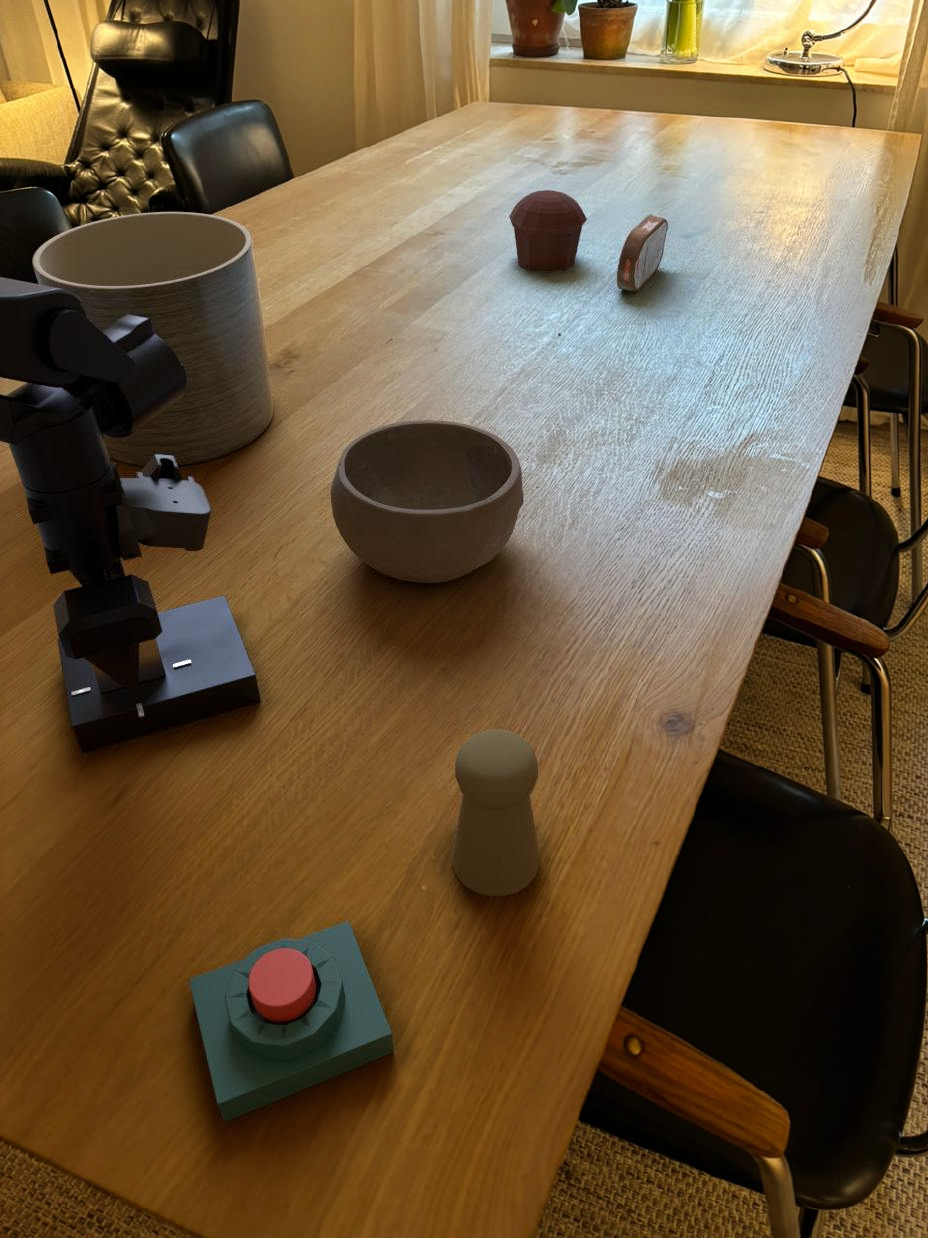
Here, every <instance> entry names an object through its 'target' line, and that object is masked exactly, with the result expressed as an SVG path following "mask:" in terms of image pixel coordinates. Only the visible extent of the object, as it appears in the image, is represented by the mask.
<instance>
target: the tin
mask: <svg viewBox="0 0 928 1238" xmlns="http://www.w3.org/2000/svg"><path fill="white" fill-rule="evenodd" d="M668 229H669V222H668V220H667V219H666V218H665V217H661V216H656V215H653V214H648V215H646V216H645V218H643V219H641V221H640V222H639V223H638V224H637V225H635V226H634V227H633V228H632V229H631V230H630V231H629V232H628V235H627V236H626V239H625V240H624V243H623V245H622V249H621V252H620V256H619V259H618V264H617V270H616V286H617V288H618V289H619V290H626V291H629V292H638V291H639V290H640V289H642V287H643V286H644V285H645V284H647V282H648V281H649V280H650V279H651V278H652V277H653V275H655V273H656V272H657V270H658V269H659V267H660V264H661V262H662V259H663V256H664V251H665V243H666V239H667V234H668V233H667V232H668Z"/></svg>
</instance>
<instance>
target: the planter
mask: <svg viewBox="0 0 928 1238" xmlns="http://www.w3.org/2000/svg"><path fill="white" fill-rule="evenodd" d="M255 257H256V256H255V251H254V242H253V237H252V235H251V233H250V231H249V229H248V228H246V227H245V226H243V225H242V224H240V223H239V222H236V221H234V220H232V219H229V218H226V217H222V216H218V215H213V214H207V213H206V214H205V213H199V212H187V211H186V212H184V211H160V212H159V211H157V212H155V211H154V212H142V213H133V214H127V215H126V214H125V215H120V216H114V217H109V218H105V219H100V220H96V221H92V222H89V223H84V224H82V225H79V226H76V227H73V228H71V229H68V230H65V231H63V232H61V233H59V234H57V235H55V236H53V237H52V238H50V239H48V240H47V241H45V242H44V243H43V244H41V245H40V246H39V247H38V249H37V250H36V251H35V252H34V254H33V257H32V268H33V270H34V273H35V277H36V280H37V284H39V285H44V286H49V287H54V288H60V289H63V290H67V291H70V292H73V293H74V294H76V295H77V296H78V297H79V298H80V301H81V305H82V306H83V308H84V309H85V312H86V315H87V318H88V320H89V321H90V322H92V323H93V324H94V325H95V326H96V327H97V328H98V329H99V330H101V331H102V332H103V331H105V330H106V329H108V328H109V327H111V326H112V325H113V324H114V323H115V322H116V321H117V320H118V319H120V318H121V317H123V316H125V315H127V314H129V315H134V316H139V317H144V318H149V319H150V320H151V322H152V326H153V331H154V334H156V335H157V336H158V337H160V338H161V339H162V340H164V341H165V342H166V343H167V344H168V345H169V346H170V347H171V348H172V350H173V351H174V353H175V354H176V356H177V357H178V359H179V361H180V363H181V364H183V365H184V367H185V370H186V374H187V387H186V392H185V393H184V395H183V397H182V398H181V399H180V400H178V401H177V402H176V403H174V404H173V405H172V406H170V407H169V408H167V409H166V410H165V411H163V412H162V413H160V414H159V415H157V416H156V417H155V418H153V419H152V420H150V421H149V422H148V423H146V424H145V425H143V426H142V427H141V428H139V429H138V430H136V431H135V432H134V433H132V434H131V435H129V436H127V437H124V438H114V437H110V436H107V435H105V434H103V436H104V440H105V443H106V447H107V451H108V454H109V458H110V459H112V460H115V461H118V462H121V463H124V464H129V465H135V466H141V467H142V466H143V467H145V466H146V465H147V463H148V462H149V461H150V460H151V458H152V457H153V456H154V455H155V454H160V455H171V456H174V457H175V460H176V463H177V465H178V466H185V465H191V464H192V465H193V464H197V463H202V462H205V461H206V462H207V461H210V460H215V459H217V458H220V457H223V456H225V455H228V454H231V453H234V452H235V451H237V450H240V449H242V448H243V447H245V446H247V445H248V444H250V443H251V442H253V441H255V440H256V439H257V438H258V437H260V435H262V433H264V431H265V430H266V429H267V428H268V426H269V425H270V423H271V421H272V420H273V419H272V418H273V416H274V399H273V392H272V386H271V376H270V368H269V360H268V359H269V358H268V350H267V341H266V333H265V325H264V317H263V308H262V302H261V301H262V300H261V293H260V287H259V286H260V285H259V279H258V271H257V264H256V258H255Z"/></svg>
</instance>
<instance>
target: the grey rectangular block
mask: <svg viewBox="0 0 928 1238" xmlns="http://www.w3.org/2000/svg"><path fill="white" fill-rule="evenodd" d="M91 666H92V669H93V671H94V674H95V677H96V680H97V683H98V686H99V689H100V692H101V693H104V692H108V691H111V690H115V689H118V688H122V686H121V685H119V684H118V683H117V682H116V681H114V680H113V679H112V678H110V677H109V676H108V675H107V674H105V673H104V672H103V671H101V670H100V669H99V668H97V667H96V666H95V665H93V664H92V663H91ZM162 676H166V673H165V669H164V666H163V662H162V659H161V655H160V651H159V648H158V644H157V641H156V639H153V640H149V641H145V642H142V643H140V648H139V683H140V682H144V681H147V680H151V679H155V678H158V677H162Z"/></svg>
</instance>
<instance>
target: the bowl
mask: <svg viewBox="0 0 928 1238" xmlns="http://www.w3.org/2000/svg"><path fill="white" fill-rule="evenodd" d="M524 496H525V495H524V490H523V473H522V467H521V463H520V460H519V457H518V455H517V454H516V452H515V450H514V449H513V448H512V446H510V445H509V444H508V443H507V441H505V440H504V439H502V438H500V437H499V436H497V435H496V434H494V433H492V432H490V431H488V430H485V429H483V428H479V427H477V426H474V425H470V424H466V423H461V422H456V421H448V420H433V419H421V420H418V419H417V420H407V421H401V422H393V423H388V424H384V425H381V426H377V427H376V428H373V429H370V430H369V431H367V432H365V433H363V434H361V435H360V436H359V435H358V437H356V438H355V439H354V440H352V441H351V442H350V443H349V444H348V445H347V446H346V447H345V449H344V450H343V451H342V453H341V455H340V457H339V461H338V463H337V467H336V470H335V473H334V476H333V479H332V483H331V488H330V504H331V511H332V517H333V520H334V523H335V526H336V528H337V530H338V532H339V535H340V536H341V538H342V539H343V541H344V543H345V544H346V545H347V547H348V548H349V549H350V550H351V551H352V553H353V554H354V555H355V556H356V557H357V558H358V559H360V561H362V562H363V563H365V564H366V565H368V566H369V567H371V568H372V569H374V570H375V571H377V572H379V573H381V574H384V575H385V576H388V577H390V578H394V579H396V580H401V581H406V582H412V583H420V584H421V583H422V584H441V583H446V582H449V581H453V580H457V579H458V578H461V577H463V576H465V575H467V574H468V575H469V574H470V573H471V572H473V571H475V570H477V569H478V568H480V567H482V566H484V565H486V564H488V563H489V562H490V561H492V560H493V559H494V558H495V557H496V556H497V554H499V553H500V551H501V550H503V548H504V547H505V546H506V545H507V543H508V542H509V540H510V538H511V536H512V535H513V533H514V530H515V529H516V524H517V520H518V516H519V514H520V509H521V508H522V507H523V505H524Z"/></svg>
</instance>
